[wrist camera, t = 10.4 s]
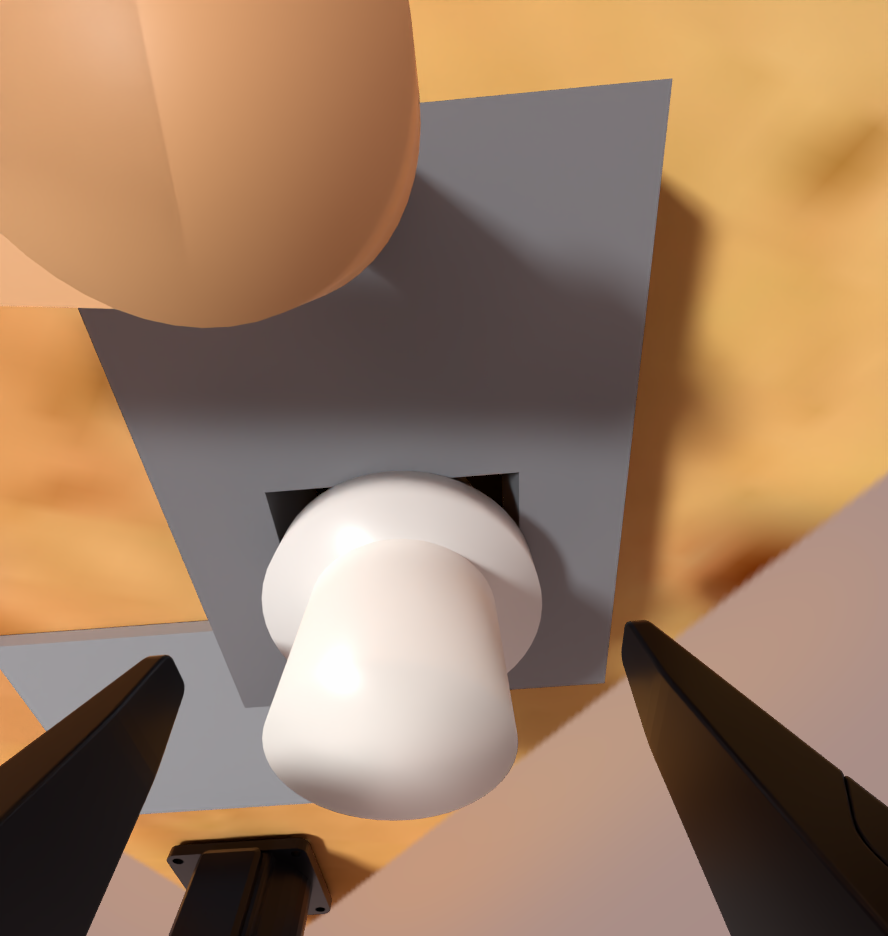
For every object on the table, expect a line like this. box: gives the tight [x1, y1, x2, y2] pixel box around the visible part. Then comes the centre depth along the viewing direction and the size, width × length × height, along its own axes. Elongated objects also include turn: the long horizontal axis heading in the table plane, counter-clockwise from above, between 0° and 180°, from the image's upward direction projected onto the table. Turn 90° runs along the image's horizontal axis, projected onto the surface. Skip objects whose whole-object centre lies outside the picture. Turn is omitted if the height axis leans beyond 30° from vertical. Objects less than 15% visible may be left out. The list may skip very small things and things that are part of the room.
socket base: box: [78, 79, 672, 708], centre depth 9 cm, size 13×10×7 cm
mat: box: [0, 621, 312, 814], centre depth 17 cm, size 10×9×1 cm
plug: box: [262, 471, 542, 820], centre depth 10 cm, size 6×6×7 cm
